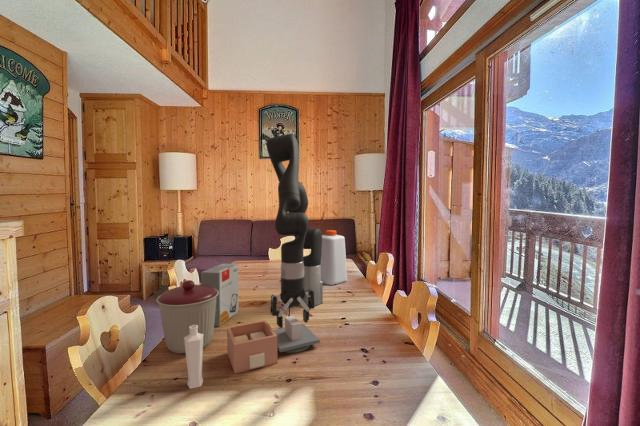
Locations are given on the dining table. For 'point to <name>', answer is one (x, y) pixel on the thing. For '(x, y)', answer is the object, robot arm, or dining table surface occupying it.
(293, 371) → the dining table surface
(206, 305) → the canister
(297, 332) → the lid
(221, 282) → the hard drive box
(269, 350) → the crate
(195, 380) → the perfume bottle
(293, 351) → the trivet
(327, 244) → the plastic bottle
